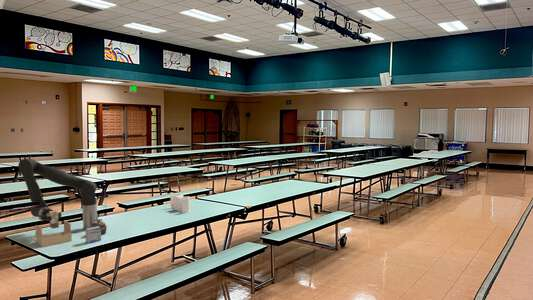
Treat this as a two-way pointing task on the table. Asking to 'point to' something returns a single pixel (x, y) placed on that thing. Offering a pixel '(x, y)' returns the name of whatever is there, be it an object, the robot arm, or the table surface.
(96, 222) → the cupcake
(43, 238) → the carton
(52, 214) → the box
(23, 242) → the table surface
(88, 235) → the medicine box
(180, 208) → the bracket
